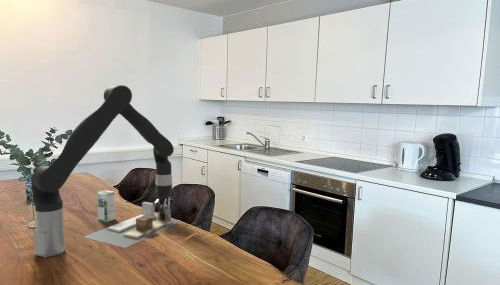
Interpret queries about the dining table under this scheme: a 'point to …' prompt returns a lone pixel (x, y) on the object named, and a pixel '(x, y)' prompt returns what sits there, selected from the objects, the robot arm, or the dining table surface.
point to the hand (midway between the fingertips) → (164, 218)
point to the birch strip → (156, 225)
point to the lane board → (118, 237)
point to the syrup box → (106, 206)
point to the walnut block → (144, 223)
